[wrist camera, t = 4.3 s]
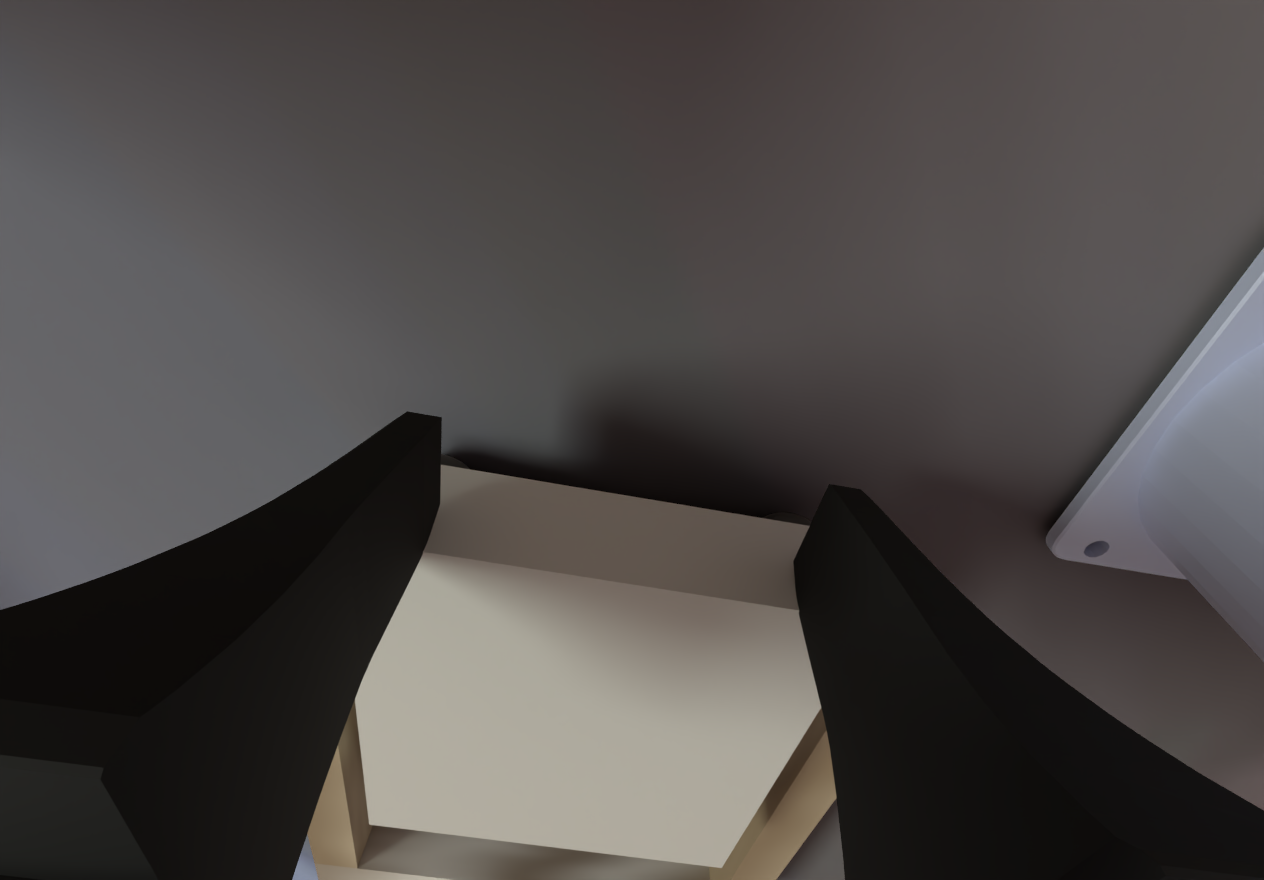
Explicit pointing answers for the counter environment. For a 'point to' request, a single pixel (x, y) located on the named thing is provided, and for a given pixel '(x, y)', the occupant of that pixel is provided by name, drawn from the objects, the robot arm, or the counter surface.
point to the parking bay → (547, 876)
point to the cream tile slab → (587, 672)
